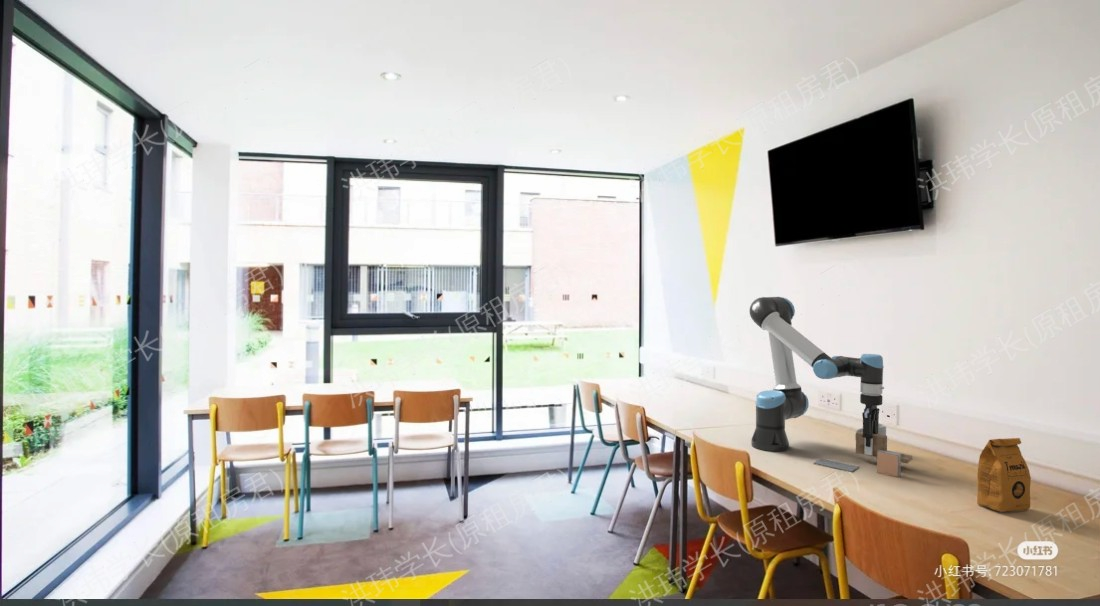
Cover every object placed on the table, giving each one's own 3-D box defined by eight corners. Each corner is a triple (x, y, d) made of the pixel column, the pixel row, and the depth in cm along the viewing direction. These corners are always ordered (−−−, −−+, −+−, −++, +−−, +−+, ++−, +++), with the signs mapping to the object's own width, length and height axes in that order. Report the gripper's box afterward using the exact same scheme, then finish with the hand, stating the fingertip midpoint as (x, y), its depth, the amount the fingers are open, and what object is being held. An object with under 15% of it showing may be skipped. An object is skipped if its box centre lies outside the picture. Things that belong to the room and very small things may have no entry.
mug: (879, 448, 240) (879, 422, 240) (890, 454, 232) (890, 427, 232) (850, 447, 241) (850, 422, 241) (860, 453, 232) (860, 427, 232)
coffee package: (1036, 514, 171) (1038, 442, 170) (999, 515, 170) (1001, 443, 169) (1006, 501, 181) (1008, 433, 180) (971, 503, 179) (973, 434, 179)
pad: (813, 463, 219) (813, 462, 219) (820, 459, 225) (820, 458, 225) (852, 472, 209) (852, 471, 209) (859, 467, 215) (859, 466, 215)
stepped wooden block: (854, 453, 222) (854, 433, 221) (860, 450, 227) (860, 430, 226) (907, 463, 209) (907, 442, 209) (912, 459, 214) (912, 438, 214)
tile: (876, 472, 209) (877, 451, 208) (878, 471, 211) (879, 449, 210) (898, 477, 204) (898, 455, 203) (900, 475, 206) (900, 453, 205)
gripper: (875, 398, 212) (874, 460, 212) (888, 392, 223) (887, 451, 224) (853, 395, 217) (852, 455, 218) (867, 389, 229) (866, 447, 229)
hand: (870, 453), depth 221 cm, fingers closed on stepped wooden block, 3 cm apart
